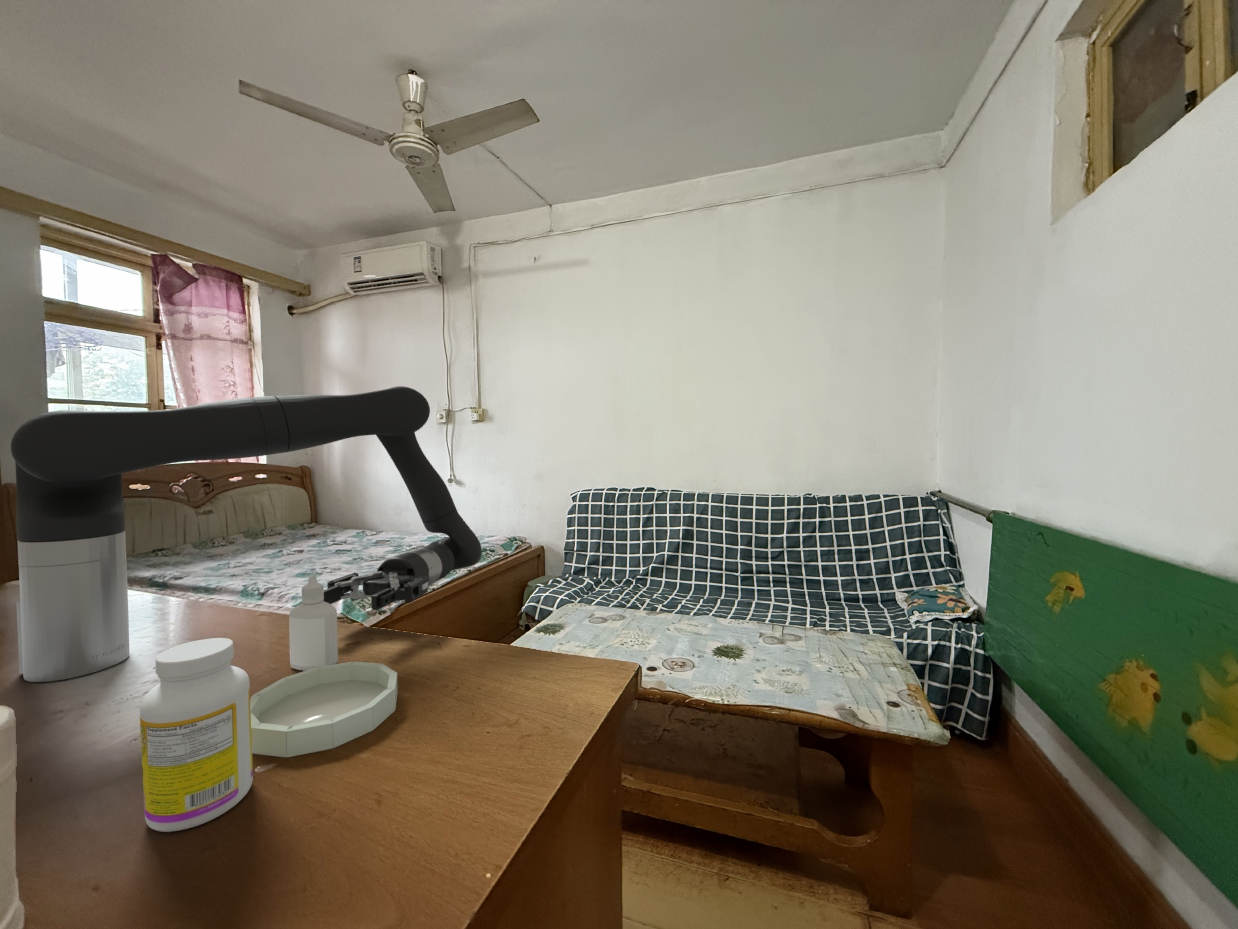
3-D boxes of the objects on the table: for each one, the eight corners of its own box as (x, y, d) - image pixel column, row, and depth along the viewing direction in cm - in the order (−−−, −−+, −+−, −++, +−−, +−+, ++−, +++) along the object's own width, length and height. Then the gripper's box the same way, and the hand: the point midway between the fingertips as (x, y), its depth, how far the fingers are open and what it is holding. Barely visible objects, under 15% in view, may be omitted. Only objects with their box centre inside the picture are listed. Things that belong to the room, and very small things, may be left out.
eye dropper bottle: (304, 678, 60) (302, 583, 59) (286, 666, 63) (284, 575, 63) (341, 665, 63) (340, 575, 63) (322, 654, 67) (321, 569, 66)
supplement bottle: (191, 777, 42) (186, 633, 41) (270, 773, 42) (267, 631, 42) (117, 840, 35) (111, 669, 35) (213, 834, 36) (208, 666, 35)
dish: (205, 748, 46) (204, 722, 46) (317, 678, 60) (316, 658, 60) (336, 763, 44) (336, 736, 44) (421, 687, 58) (420, 666, 58)
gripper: (374, 550, 86) (302, 573, 70) (448, 553, 84) (391, 578, 68) (374, 591, 86) (303, 624, 70) (448, 595, 84) (392, 630, 68)
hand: (346, 601), depth 69 cm, fingers open, 8 cm apart
